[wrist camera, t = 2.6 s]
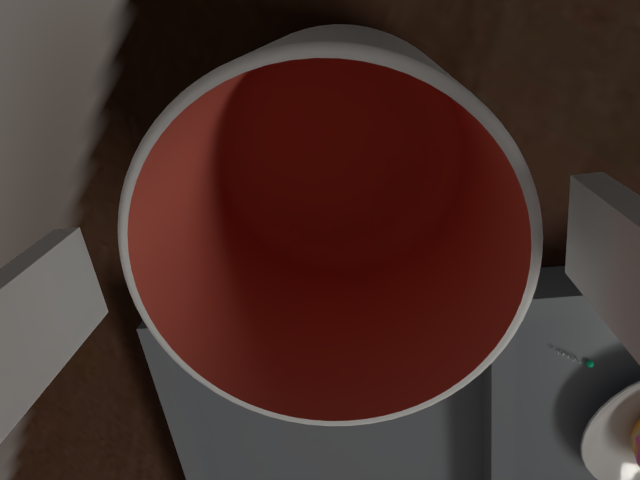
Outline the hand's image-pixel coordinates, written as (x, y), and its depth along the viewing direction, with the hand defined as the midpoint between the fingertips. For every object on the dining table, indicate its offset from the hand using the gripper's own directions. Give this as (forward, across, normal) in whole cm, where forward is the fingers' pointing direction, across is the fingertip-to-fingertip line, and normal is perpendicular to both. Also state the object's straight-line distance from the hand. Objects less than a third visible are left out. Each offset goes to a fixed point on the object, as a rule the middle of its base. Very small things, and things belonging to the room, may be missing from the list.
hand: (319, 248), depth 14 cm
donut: (+8, +13, -14) cm, 20 cm away
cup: (+8, 0, 0) cm, 8 cm away
